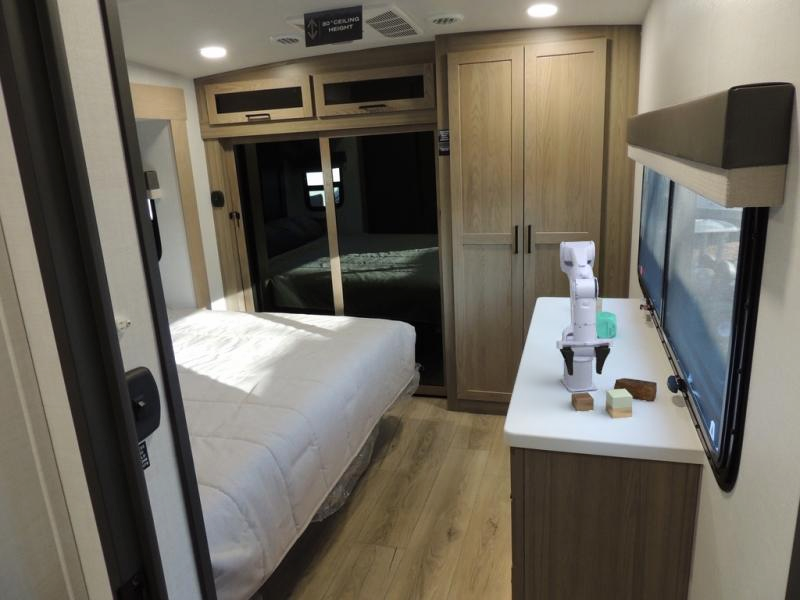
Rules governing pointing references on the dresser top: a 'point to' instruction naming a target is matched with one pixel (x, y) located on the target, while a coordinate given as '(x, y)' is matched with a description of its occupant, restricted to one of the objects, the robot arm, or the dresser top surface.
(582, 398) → the walnut block
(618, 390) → the sage block
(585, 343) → the robot arm
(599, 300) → the product box
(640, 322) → the dresser top surface
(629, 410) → the oak block
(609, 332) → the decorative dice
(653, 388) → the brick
